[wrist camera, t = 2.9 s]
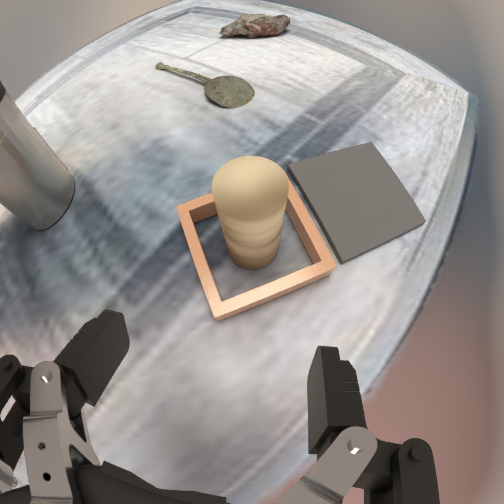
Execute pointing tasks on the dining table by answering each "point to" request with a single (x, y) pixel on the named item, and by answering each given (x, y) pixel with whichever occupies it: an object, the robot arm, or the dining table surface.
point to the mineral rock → (256, 25)
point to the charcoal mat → (356, 199)
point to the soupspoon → (221, 88)
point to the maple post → (251, 208)
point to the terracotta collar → (267, 292)
